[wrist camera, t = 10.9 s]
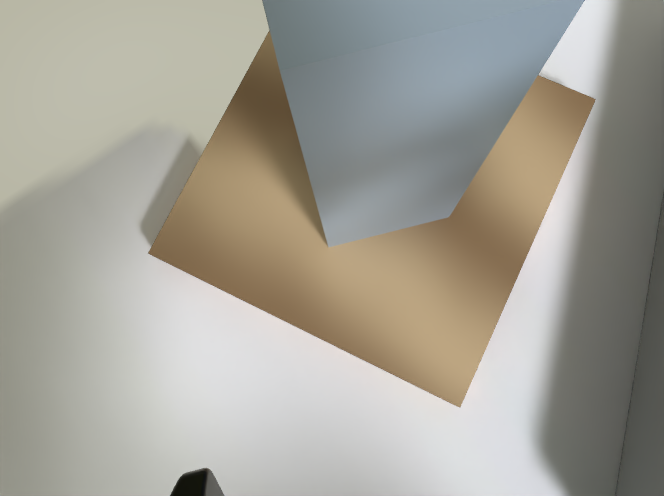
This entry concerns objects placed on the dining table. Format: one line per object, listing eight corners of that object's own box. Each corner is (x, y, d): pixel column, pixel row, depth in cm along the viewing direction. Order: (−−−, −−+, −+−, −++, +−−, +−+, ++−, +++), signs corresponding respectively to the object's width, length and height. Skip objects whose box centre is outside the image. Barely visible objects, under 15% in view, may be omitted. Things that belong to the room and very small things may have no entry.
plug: (448, 217, 19) (589, -8, 8) (328, 247, 19) (280, 70, 8) (416, 104, 20) (496, -260, 8) (299, 133, 20) (215, -190, 8)
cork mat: (454, 405, 19) (460, 407, 18) (158, 258, 21) (148, 253, 20) (584, 111, 21) (595, 99, 20) (301, -7, 22) (299, -24, 21)
